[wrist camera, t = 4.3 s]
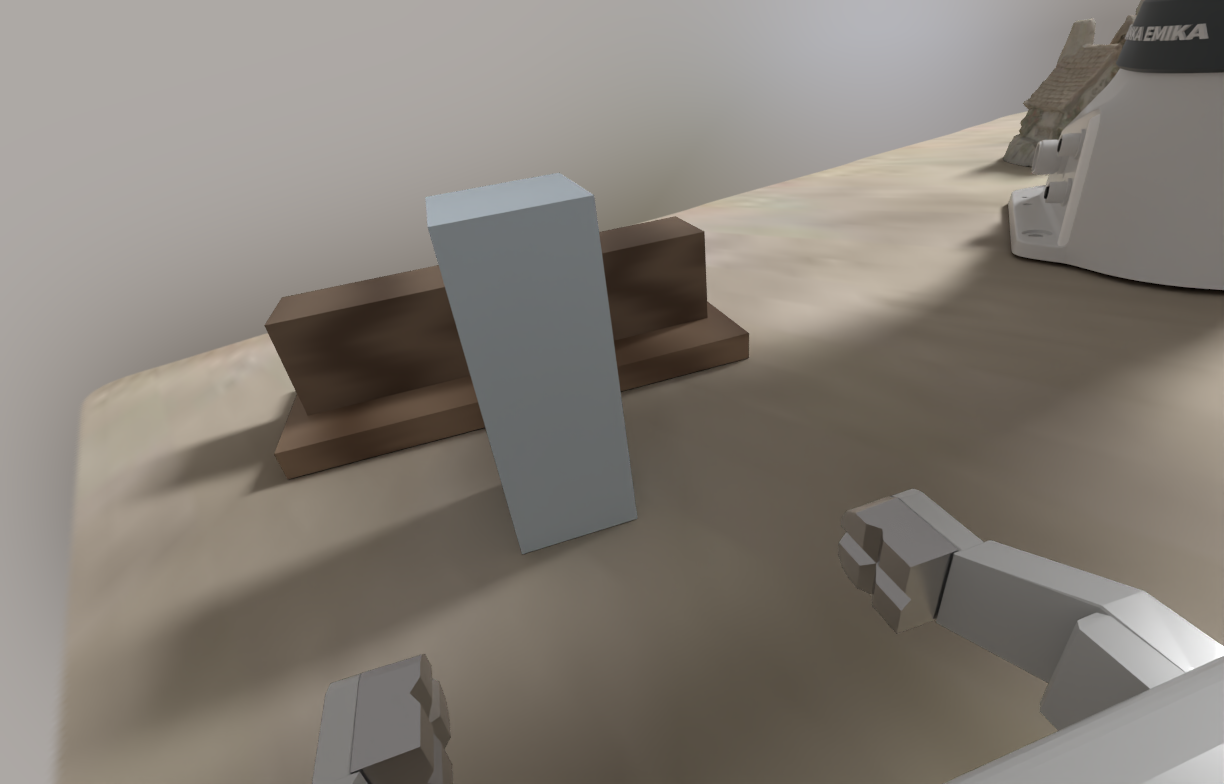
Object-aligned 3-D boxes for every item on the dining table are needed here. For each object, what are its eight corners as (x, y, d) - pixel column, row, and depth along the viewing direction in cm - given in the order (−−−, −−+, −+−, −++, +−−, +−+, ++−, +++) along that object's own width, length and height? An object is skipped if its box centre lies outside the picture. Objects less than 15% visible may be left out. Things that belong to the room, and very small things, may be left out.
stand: (678, 298, 40) (672, 203, 36) (748, 357, 31) (748, 241, 28) (318, 383, 35) (273, 284, 32) (287, 479, 27) (222, 357, 23)
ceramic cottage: (985, 153, 65) (1028, -6, 57) (1145, 142, 63) (1214, -24, 55) (1058, 192, 53) (1128, -4, 44) (1260, 181, 50) (1375, -28, 42)
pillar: (604, 453, 25) (559, 172, 19) (637, 518, 22) (594, 195, 15) (506, 481, 25) (425, 197, 18) (521, 554, 21) (427, 227, 15)
